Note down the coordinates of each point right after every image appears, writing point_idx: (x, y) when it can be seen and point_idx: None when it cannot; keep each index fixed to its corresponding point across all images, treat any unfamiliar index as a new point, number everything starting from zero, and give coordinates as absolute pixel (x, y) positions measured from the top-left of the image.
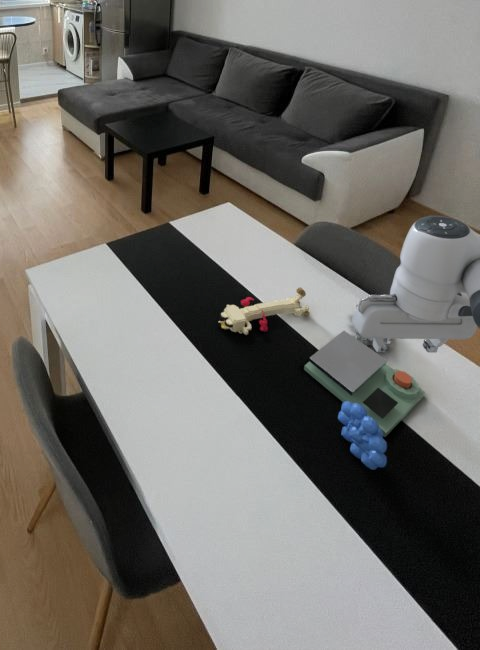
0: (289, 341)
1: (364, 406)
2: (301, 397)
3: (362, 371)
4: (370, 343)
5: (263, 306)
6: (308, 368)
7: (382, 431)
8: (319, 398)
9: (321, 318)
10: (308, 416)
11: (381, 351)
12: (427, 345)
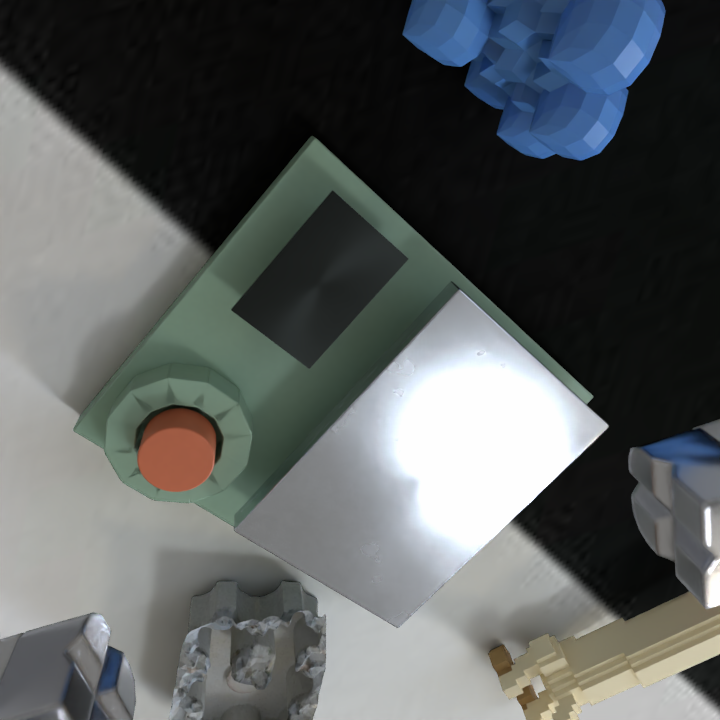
0: (598, 504)
1: None
2: (632, 238)
3: (374, 428)
4: (261, 604)
5: None
6: (581, 386)
7: (413, 24)
8: (554, 257)
9: (433, 656)
10: (631, 145)
11: (687, 434)
12: (90, 711)
